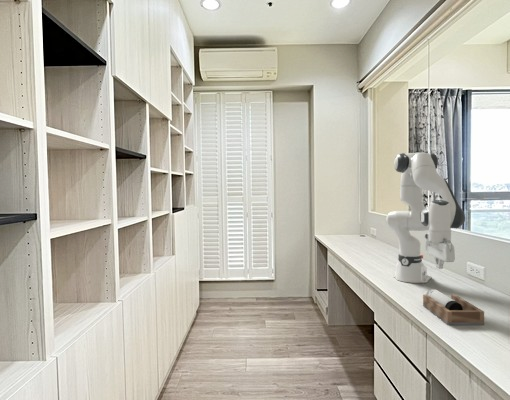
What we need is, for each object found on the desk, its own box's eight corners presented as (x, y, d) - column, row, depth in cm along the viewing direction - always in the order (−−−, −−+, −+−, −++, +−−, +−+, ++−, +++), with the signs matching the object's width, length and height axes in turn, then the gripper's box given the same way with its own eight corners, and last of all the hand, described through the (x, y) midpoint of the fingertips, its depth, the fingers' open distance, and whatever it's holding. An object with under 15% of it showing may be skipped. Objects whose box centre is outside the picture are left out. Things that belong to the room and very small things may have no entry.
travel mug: (425, 288, 167) (448, 303, 147) (439, 288, 167) (464, 303, 147) (424, 302, 168) (447, 318, 148) (439, 302, 168) (464, 318, 148)
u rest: (423, 306, 166) (423, 294, 166) (454, 305, 166) (455, 294, 165) (447, 325, 144) (447, 311, 144) (484, 324, 144) (484, 311, 143)
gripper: (459, 240, 154) (458, 273, 154) (436, 233, 174) (436, 263, 175) (443, 240, 154) (443, 273, 155) (422, 234, 174) (422, 263, 175)
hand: (439, 268), depth 165 cm, fingers closed
